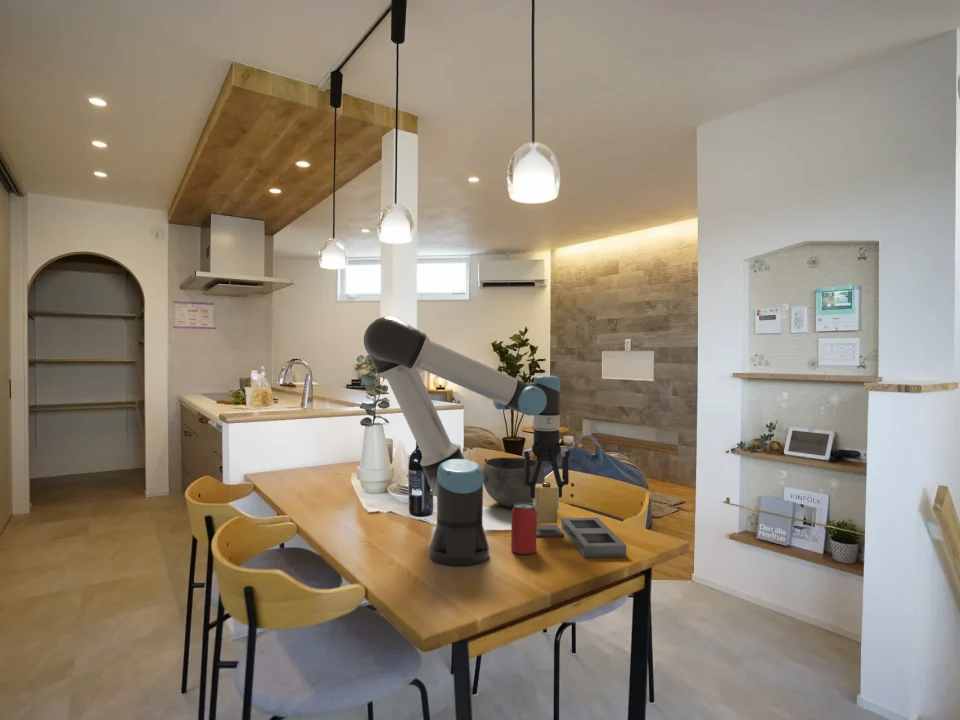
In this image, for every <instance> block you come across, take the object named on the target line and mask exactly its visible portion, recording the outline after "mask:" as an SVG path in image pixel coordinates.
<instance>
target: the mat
mask: <svg viewBox="0 0 960 720" xmlns="http://www.w3.org/2000/svg"><path fill="white" fill-rule="evenodd" d="M560 528H561V527H559V526H558V525H557V524H537V529H536V538H556V537H557V538H562V537H565V533H564V531H563V530H562V529H560Z"/></svg>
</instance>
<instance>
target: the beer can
mask: <svg viewBox="0 0 960 720" xmlns="http://www.w3.org/2000/svg"><path fill="white" fill-rule="evenodd" d="M537 523H538V522H537V513H536V510H535V505H533V503H532V504H531V503H516V504H514V508H512V511H511V527H510V528H511V534H510V535H511V536H510V537H511V541H510V542H511V543H510V550H511V551H512V552H513V553H515V554H518V555H523V556H524V555H525V556H526V555H532V554H534V553H535V552H536V551H537V537H536V529H537V525H538V524H537Z"/></svg>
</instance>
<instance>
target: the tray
mask: <svg viewBox="0 0 960 720" xmlns="http://www.w3.org/2000/svg"><path fill="white" fill-rule="evenodd" d="M560 523H561V525H560V528H561V529H560V530H561V531H562V532H563V533H564V535H566V537H568V539H569V540H570V542H571V543H572V544H573V546H574V547H575V548H576V549H577V551H578V552H579V553H580V555H581V556H582V557H583V558H584V559H599V558H600V559H601V558H603V559H604V558H606V557H610V558H627V544H626V543H625V542H624V541H622V539H621V538H619V537H618V536H617V535H616V534H615V533H614V532H613V531H612V529H610V528H609V527H608V526H607V525H606V524H605V523H604V522H603V521H602V520H601V519H600V518H598V517H561V518H560ZM606 559H607V558H606Z"/></svg>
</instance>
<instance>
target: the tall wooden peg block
mask: <svg viewBox="0 0 960 720" xmlns="http://www.w3.org/2000/svg"><path fill="white" fill-rule="evenodd" d="M555 485H556V484H554V483H551V482H548V481H544V482H543V483H542V484H536V485H535V486H537V487H538V510H536V513H537V523H538V524H557V523H558V510H557V487H556V486H555Z"/></svg>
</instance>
